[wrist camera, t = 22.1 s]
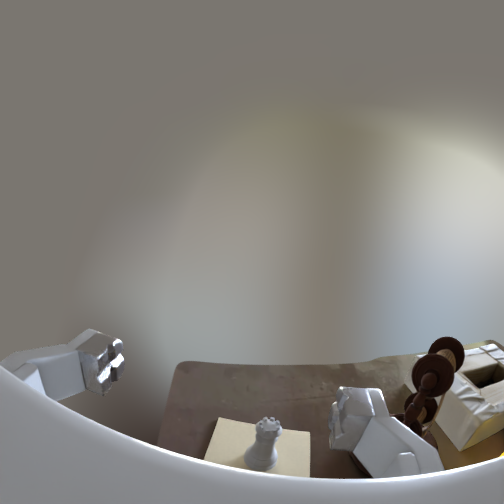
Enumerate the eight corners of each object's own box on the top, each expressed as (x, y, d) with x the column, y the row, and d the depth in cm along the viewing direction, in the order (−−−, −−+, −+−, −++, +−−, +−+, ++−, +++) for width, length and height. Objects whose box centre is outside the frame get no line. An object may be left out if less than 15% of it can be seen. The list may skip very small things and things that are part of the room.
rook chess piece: (267, 477, 29) (279, 442, 27) (236, 463, 31) (243, 427, 29) (281, 456, 33) (294, 420, 31) (253, 444, 35) (261, 406, 33)
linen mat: (193, 488, 26) (193, 487, 26) (218, 418, 40) (219, 417, 40) (308, 507, 25) (309, 505, 25) (309, 433, 38) (310, 432, 38)
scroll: (405, 505, 23) (489, 395, 18) (326, 455, 34) (375, 341, 29) (442, 448, 32) (500, 346, 28) (376, 412, 43) (417, 312, 38)
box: (460, 456, 30) (535, 409, 34) (483, 423, 28) (550, 381, 33) (400, 385, 52) (483, 366, 57) (412, 354, 50) (493, 341, 55)
